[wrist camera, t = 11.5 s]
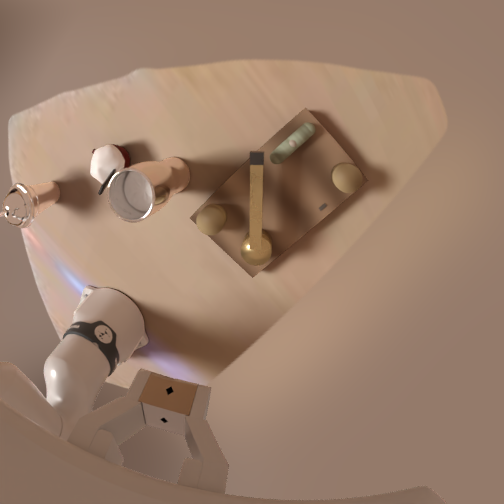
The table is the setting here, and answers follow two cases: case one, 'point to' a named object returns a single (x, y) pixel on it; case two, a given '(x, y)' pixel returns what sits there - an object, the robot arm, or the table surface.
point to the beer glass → (146, 187)
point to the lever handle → (256, 216)
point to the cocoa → (108, 163)
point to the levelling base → (283, 190)
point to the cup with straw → (28, 202)
